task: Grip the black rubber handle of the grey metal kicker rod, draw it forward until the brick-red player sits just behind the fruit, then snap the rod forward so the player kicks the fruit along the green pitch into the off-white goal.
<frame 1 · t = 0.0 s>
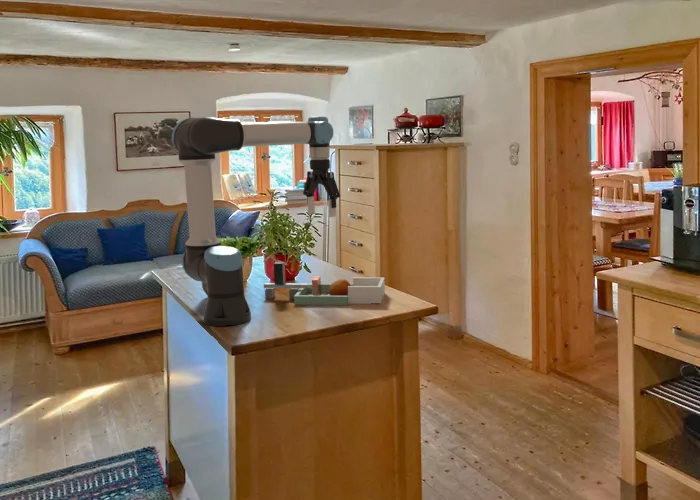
hand: (321, 215, 242), 28 cm above the countertop, fingers open, 13 cm apart
fruit: (340, 298, 230), resting in pitch
goal: (365, 298, 229), on the countertop
kicker rod: (291, 279, 231), point 7 cm above the countertop, slide at 0.0 cm
grey textured round piece: (222, 297, 237), on the countertop
pitch: (363, 300, 226), on the countertop
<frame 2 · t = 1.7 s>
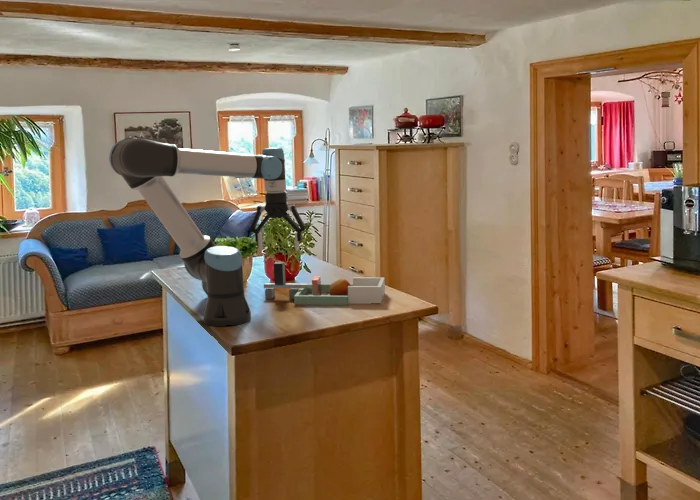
hand: (279, 250, 230), 17 cm above the countertop, fingers open, 13 cm apart
nothing on the countertop moved.
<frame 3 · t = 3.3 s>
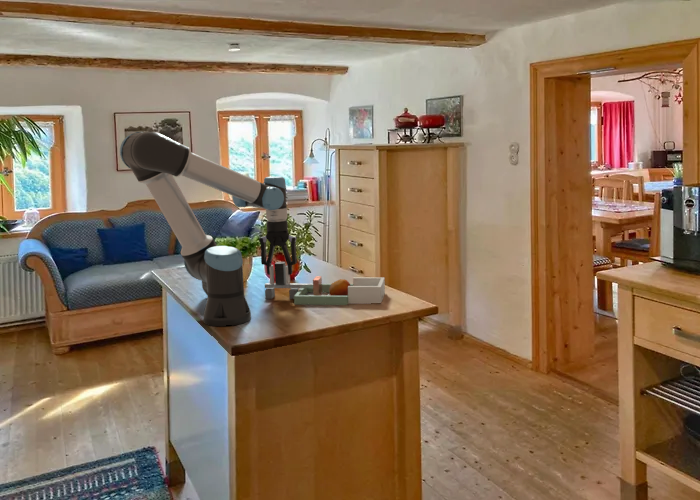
hand: (280, 283, 232), 5 cm above the countertop, fingers open, 5 cm apart
kicker rod: (292, 279, 231), point 7 cm above the countertop, slide at 0.4 cm, touching gripper
everything else where it was.
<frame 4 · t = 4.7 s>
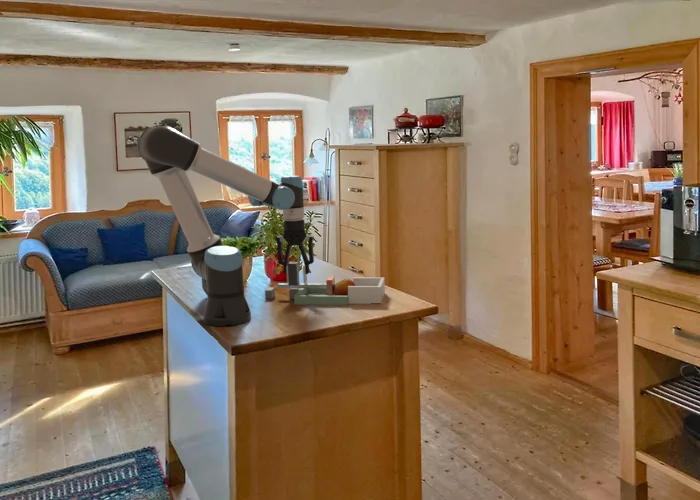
hand: (297, 282, 232), 6 cm above the countertop, fingers open, 5 cm apart
fruit: (344, 298, 230), resting in pitch, touching kicker rod
kicker rod: (305, 279, 231), point 7 cm above the countertop, slide at 5.3 cm, touching fruit, gripper
everything else where it was.
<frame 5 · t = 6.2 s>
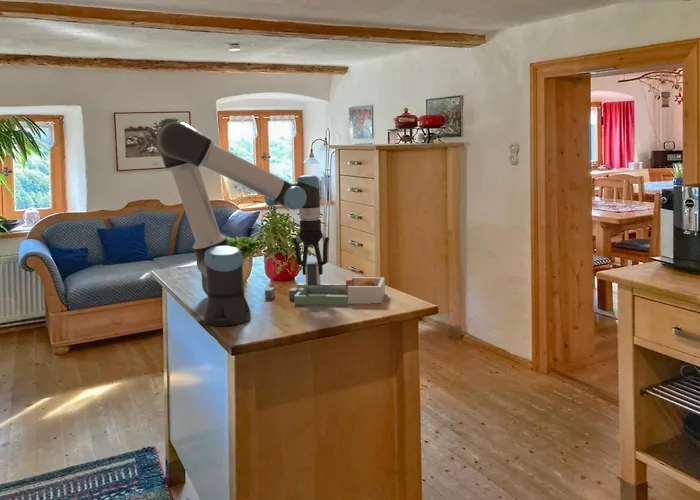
hand: (313, 283, 231), 5 cm above the countertop, fingers closed on kicker rod, 3 cm apart
fruit: (364, 299, 229), resting in goal
kicker rod: (324, 279, 230), point 7 cm above the countertop, slide at 12.3 cm, touching gripper
everything else where it was.
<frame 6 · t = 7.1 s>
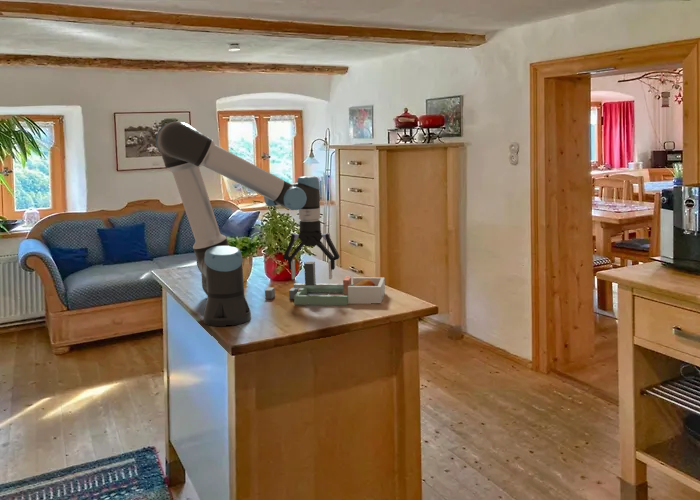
hand: (312, 278, 230), 7 cm above the countertop, fingers open, 13 cm apart
kicker rod: (321, 279, 230), point 7 cm above the countertop, slide at 11.3 cm
everything else where it was.
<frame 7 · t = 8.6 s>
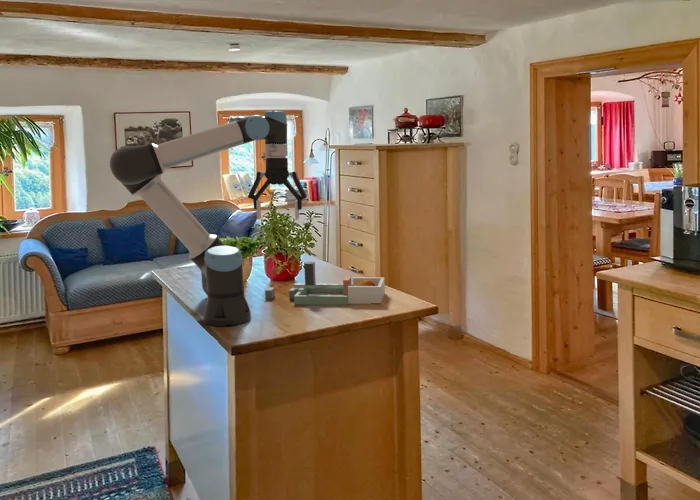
hand: (278, 219, 221), 30 cm above the countertop, fingers open, 13 cm apart
nothing on the countertop moved.
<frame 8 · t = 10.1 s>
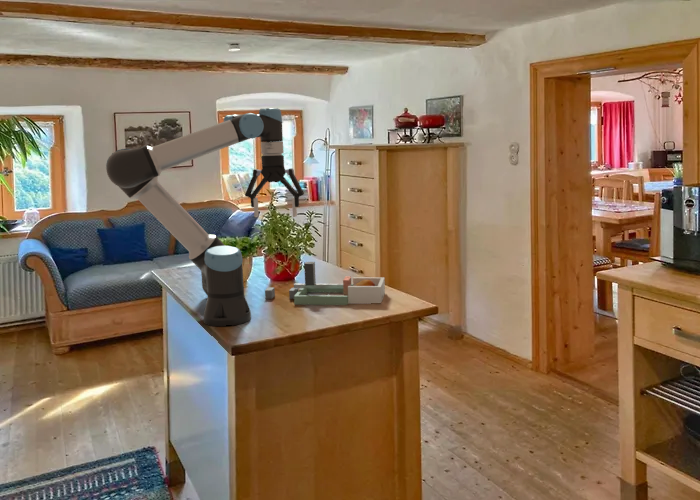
hand: (275, 216, 221), 31 cm above the countertop, fingers open, 13 cm apart
nothing on the countertop moved.
at the end: fruit 0.4 cm from the goal (horizontally); kicker rod slide at 11.3 cm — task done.
